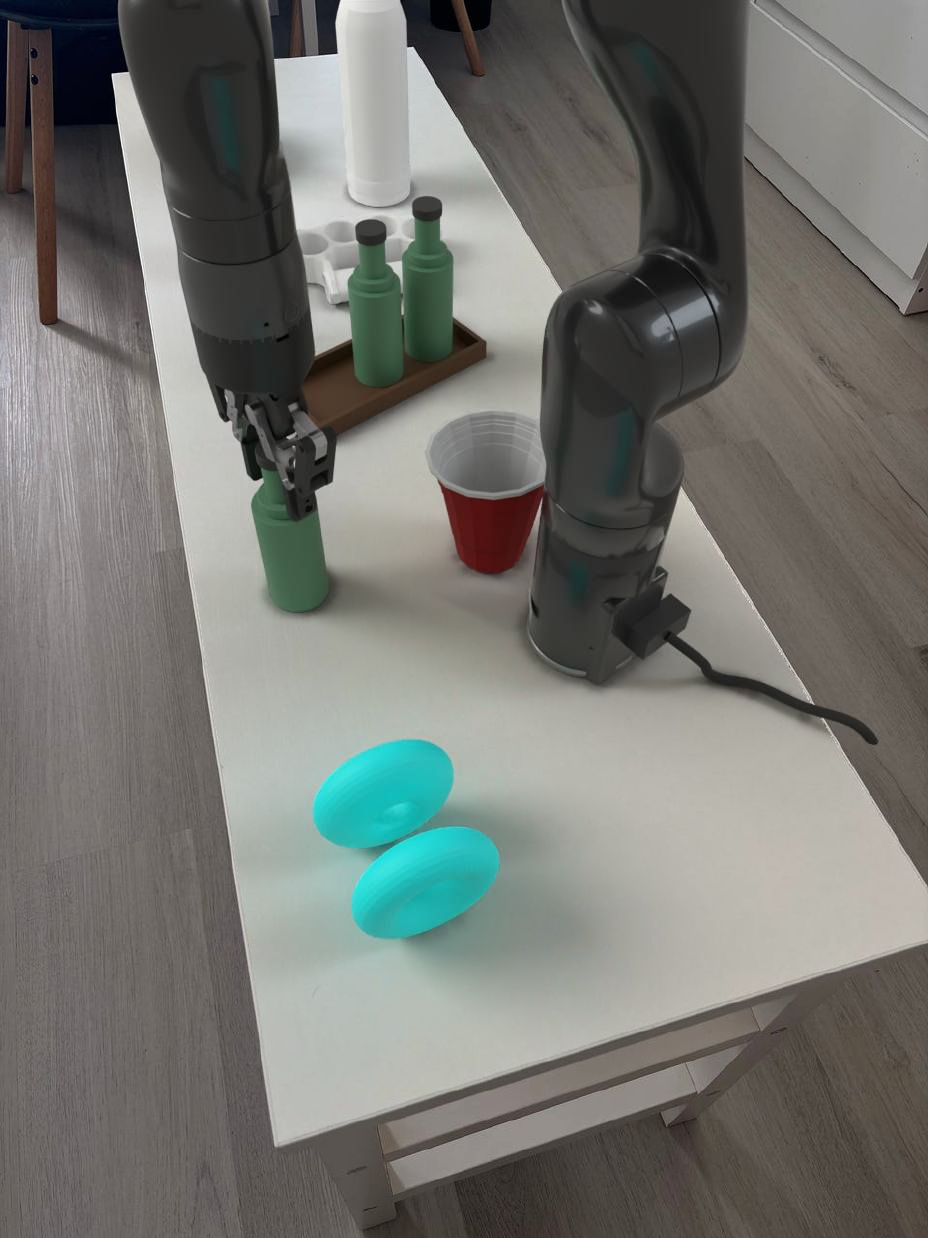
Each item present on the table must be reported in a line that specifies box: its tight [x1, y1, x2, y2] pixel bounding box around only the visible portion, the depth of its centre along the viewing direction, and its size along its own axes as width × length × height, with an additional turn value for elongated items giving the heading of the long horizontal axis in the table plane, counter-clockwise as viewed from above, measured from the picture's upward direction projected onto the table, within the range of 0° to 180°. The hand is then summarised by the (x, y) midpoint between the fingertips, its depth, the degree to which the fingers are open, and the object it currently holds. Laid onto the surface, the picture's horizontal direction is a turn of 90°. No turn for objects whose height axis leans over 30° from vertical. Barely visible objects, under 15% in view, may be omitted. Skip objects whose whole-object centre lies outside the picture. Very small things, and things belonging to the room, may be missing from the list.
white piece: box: [296, 212, 443, 305], centre depth 111 cm, size 3×18×15 cm
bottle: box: [335, 0, 412, 208], centre depth 111 cm, size 8×8×30 cm
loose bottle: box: [250, 437, 330, 613], centre depth 77 cm, size 5×5×16 cm
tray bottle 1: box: [347, 219, 404, 387], centre depth 94 cm, size 5×5×16 cm
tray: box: [302, 313, 488, 436], centre depth 100 cm, size 9×21×2 cm, turn 130°
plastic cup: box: [424, 407, 546, 575], centre depth 82 cm, size 11×11×12 cm
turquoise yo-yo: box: [312, 738, 501, 940], centre depth 64 cm, size 10×10×10 cm
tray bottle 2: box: [402, 195, 454, 362], centre depth 97 cm, size 5×5×16 cm
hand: (282, 493), depth 74 cm, fingers open, 5 cm apart
